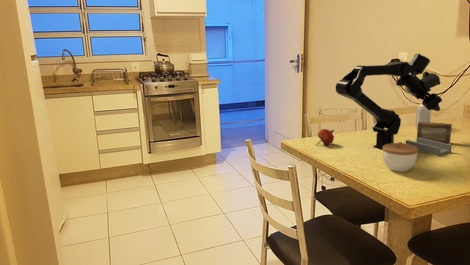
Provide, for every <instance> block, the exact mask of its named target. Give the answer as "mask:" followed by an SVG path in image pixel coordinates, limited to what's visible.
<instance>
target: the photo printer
mask: <svg viewBox="0 0 470 265" xmlns="http://www.w3.org/2000/svg"><path fill="white" fill-rule="evenodd" d="M431 114H432V110H428V109H427V108H426V107H425V106H423V104H422V103H420V104H418V106H417V107H416V113H415V130H417V129H418V123H419V122H431V117H432V116H431Z"/></svg>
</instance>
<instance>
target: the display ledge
mask: <svg viewBox="0 0 470 265" xmlns="http://www.w3.org/2000/svg"><path fill="white" fill-rule="evenodd" d="M405 144H410V145H414V146H416V147H417V148H418V152H421V153H426V154H429V155H434V156H436V157H437V156H438V157H439V156H444V155H446V154H450V153H452V149H453V148H452V144H446V143H441V142H436V141H432V140H427V139H423V138H417V137H416V141H415V140H409V139H406V140H405Z"/></svg>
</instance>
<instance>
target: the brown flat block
mask: <svg viewBox="0 0 470 265" xmlns="http://www.w3.org/2000/svg"><path fill="white" fill-rule="evenodd" d="M452 125H453V124H452V123H441V122H440V123H439V122H431V121H430V122H419V123H418V129H416V131H417V132H416V139H417V138H423V139H427V140H432V141H436V142H441V143H446V144H449V143H451V139H452V138H451V135H452V127H453V126H452Z"/></svg>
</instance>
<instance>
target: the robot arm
mask: <svg viewBox="0 0 470 265" xmlns="http://www.w3.org/2000/svg"><path fill="white" fill-rule="evenodd" d="M430 63H431V60H430V58H429V57H426V56H424V55H423V54H422V55H421V53H415V54H414V55H413V57H412V58H411V60H410V62H409V61H391V62H388V63H386V64H377V65H374V64H373V65H355V66H354V67H353V68H352V70H351V71H349V72H347V73H346V74H345V75H344V76H343V77H342V78H341V79H339V80H338V81H337V83H336V85H335V92H336V93H337V94H338V95H340V96H342V97H344V98H346V99H347V98H348V99H350V100H352V101H353V102H355V104H357V105H358V106H359V107H361V108H362V109H363V110H365V111H366V112H367V113H368V114H370V115H371V116H372V117H373V118H374V120H375V123H374V125H373V126H372V127H371V128H372V131H373V132H375V133H376V141H375V142H376V143H375V144H374V145H372V148H377V149H380V150H383V146H384V145H386V144H390V143H395V135H398V133H399V131H400V127H401V124H402V122H401V121H402V119H401V118H400V114H397V113H396V112H395V111H394V110H393V109H388V108H387V109H386V108H382V107H381V106H380V105H378V104H377V103H376V102H375V101H373V99H371V98H369V97H368V96H367V95H366V94H365V92H364V93H363V90H362V86H363V84H364V83H365V82H364V81H365V78H366V77H368V76H383V75H384V76H385V75H386V76H391V77H399V78H397V79H396V84H395V85H396V86H398V87H399V86H400V87H404V90H405V91H406V92H407V93H409V94H410V95H411V96H413V97H414V98H416V99H417V100H422V103H421V104H423V106H425V107H426V108H427V109H428V110H431V111H435V112H440V111H441V106H440V103H442V101H443V99H442V97H441V96H439V95H438V94H437V93H435V92H432V93H430V92H431V91H432V88H434V87H437V86H439V85H441V79H440V76H439V75H438V74H436V73H434V72H428V71H425V70H426V68H427V67H428V66H429V64H430ZM417 75H422V77H421V78H419V77H418V76H417Z"/></svg>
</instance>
